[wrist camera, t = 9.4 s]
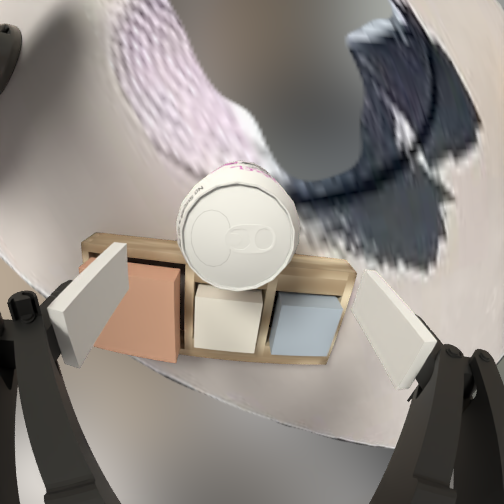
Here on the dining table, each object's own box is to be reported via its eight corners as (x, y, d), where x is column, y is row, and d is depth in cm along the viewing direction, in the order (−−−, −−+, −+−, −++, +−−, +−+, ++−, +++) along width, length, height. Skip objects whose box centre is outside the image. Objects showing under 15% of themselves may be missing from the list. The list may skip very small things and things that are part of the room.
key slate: (277, 285, 33) (281, 305, 29) (332, 289, 33) (343, 309, 29) (268, 331, 35) (270, 354, 31) (318, 334, 36) (326, 356, 32)
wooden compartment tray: (96, 232, 32) (80, 242, 28) (345, 259, 34) (357, 273, 30) (106, 322, 37) (96, 338, 33) (319, 346, 39) (326, 364, 35)
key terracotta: (96, 252, 30) (78, 267, 25) (182, 263, 30) (174, 281, 26) (106, 326, 34) (93, 346, 29) (182, 340, 34) (176, 363, 30)
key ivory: (200, 277, 32) (195, 296, 28) (260, 283, 33) (262, 303, 29) (198, 325, 35) (194, 347, 31) (252, 330, 35) (253, 353, 31)
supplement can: (205, 232, 32) (177, 298, 18) (203, 160, 29) (167, 172, 15) (275, 232, 32) (298, 298, 18) (277, 160, 29) (307, 172, 15)
